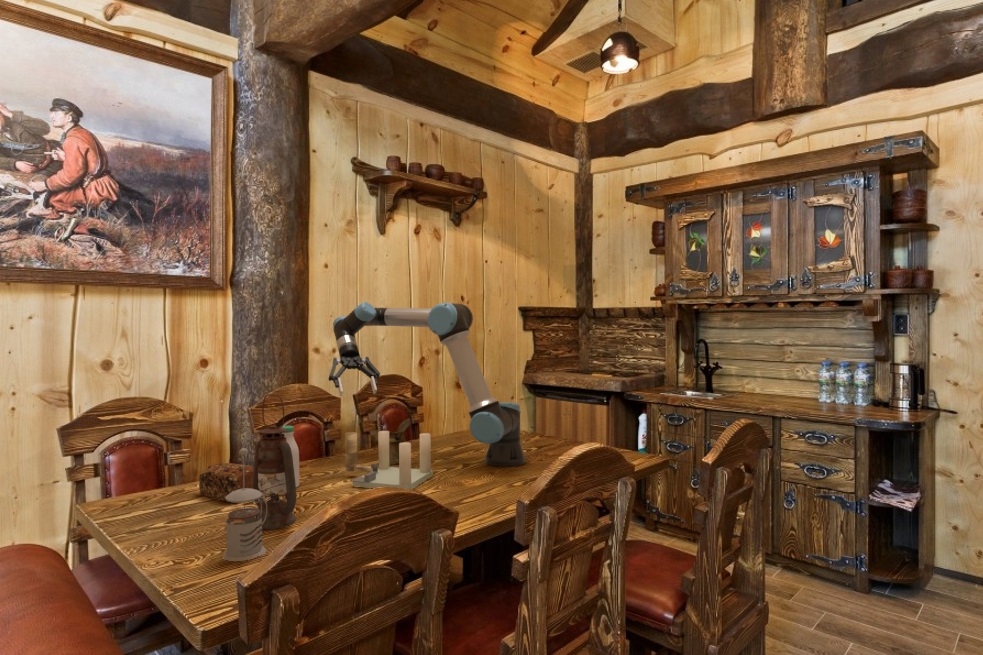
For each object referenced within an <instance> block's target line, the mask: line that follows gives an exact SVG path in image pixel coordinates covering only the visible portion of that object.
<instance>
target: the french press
mask: <svg viewBox="0 0 983 655" xmlns="http://www.w3.org/2000/svg"><path fill="white" fill-rule="evenodd" d="M248 451H249V450H248V449H247V448H244V447H242V448H240V449H239V450H238V454H240V455H242V464H243V488H242V489H239V490H235V491H233V492H231V493H230V494H229V495H227V496H226V497H225V498H226V500H227V501H228V502H227V503H229V502H231V503H233V504H235V503H236V504H240V503H243V508H238V509H237V508H236V509H234V510H232V511H230V512H229V513H227V520H226V521H225V524H226V525H225V529H226V530H225V531H226V540H225V541H226V545H225V546H226V551H224V553H223V554H224V555H223V554H222V556H223V557H224V559H225V560H224V561H226V560H228V561H227V562H229V561H242V560H247V559H248V561H250V560H249V559H252V558H255V557H257V556H261V555H262V556H264V555H266V553H267V551H266V550H267V548H266V547H265V548H266V549H265V548H264V545H263V530H262V524H263V523H264V521H265V520H266V516H267V503H266V501H267V500H266V498H265V499H264V497H263V498H262V497H261V496H262V493H261V492H260V491H258V490H255V489H249V488H244V465H245V454H248V453H249V452H248ZM259 498H262V499H263V500H264V501H265V503H266V515H265V519H264V521H263V523H262V516H261V514H262V504H261V501H260V499H259ZM257 499H258V502H255V501H254V500H257ZM259 501H260V504H261V513H260V510H259V509H257V508H258V507H257V508H256V507H246V504H245V503H249V502H252V503H254V504H255V503H259ZM259 513H260V515H258V514H259ZM256 516H257V521H256V522H255V517H256ZM234 521H243V522H234ZM256 527H257V528H256ZM265 552H266V553H265ZM263 554H264V555H263ZM262 556H261V557H262ZM242 562H243V561H242Z"/></svg>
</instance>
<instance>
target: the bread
mask: <svg viewBox="0 0 983 655" xmlns="http://www.w3.org/2000/svg"><path fill="white" fill-rule="evenodd" d="M253 472H254V465H253V466H252V465H246V464H244V488H249V489H253ZM262 479H263V478H262ZM198 482H199V483H198V487H199V493H200V495H201V496H203V497H204V496H205V497H206V496H207V498H210V499H214V500H217V499H218V500H217V501H223V502H225V501H226V502H225V503H229V502H228V501H227V500H226V498H225V497H226V496H227V495H229V494H230V493H231V492H233V491H235V490H239V489H242V488H243V463H233V462H231V463H230V462H225V463H224V462H223V463H215V464H212V465H209V466H207V468H205V469H204V470H202V472H201V473H200V474H199V477H198Z"/></svg>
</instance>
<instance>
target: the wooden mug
mask: <svg viewBox="0 0 983 655" xmlns="http://www.w3.org/2000/svg"><path fill="white" fill-rule="evenodd" d="M410 425H411V419H410V418H409V417H408V418H406V419H404V420H403V421H401V423H400V424H399V425H398V427H397V430H396V431H395V432H394V431H389V466H395V465H394V464H396V465H399V443H403V442H406V436H405V434H404V433H405V432H406V430H407V429H408V428H409V427H410Z"/></svg>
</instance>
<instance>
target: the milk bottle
mask: <svg viewBox="0 0 983 655" xmlns="http://www.w3.org/2000/svg"><path fill="white" fill-rule="evenodd" d="M282 428H286V429H288V431H286V432H283V433H282V434H284V435H285V436H284V437H286V442H287V443H288V444H289V445H290V448H291V451H292V457H293V465H294V474H295V483H296V488H298V487H299V486H300V451H299V447H298V446H299V445H298V444H297V442H296V440H295V437H294V434H295V427H294V426H293V425H283V427H282ZM284 473H285V472H284ZM276 476H277V474H274V477H275V479H276ZM284 479H285V477H284ZM285 481H286V480H285ZM285 481H284V482H285ZM277 482H278V481H277ZM282 483H283V482H281V484H282ZM275 485H277V484H275ZM278 486H279V485H278ZM278 486H277V487H278ZM275 487H276V486H275ZM283 487H284V485H283ZM283 487H282V488H283ZM280 491H283V489H281V490H280Z"/></svg>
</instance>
